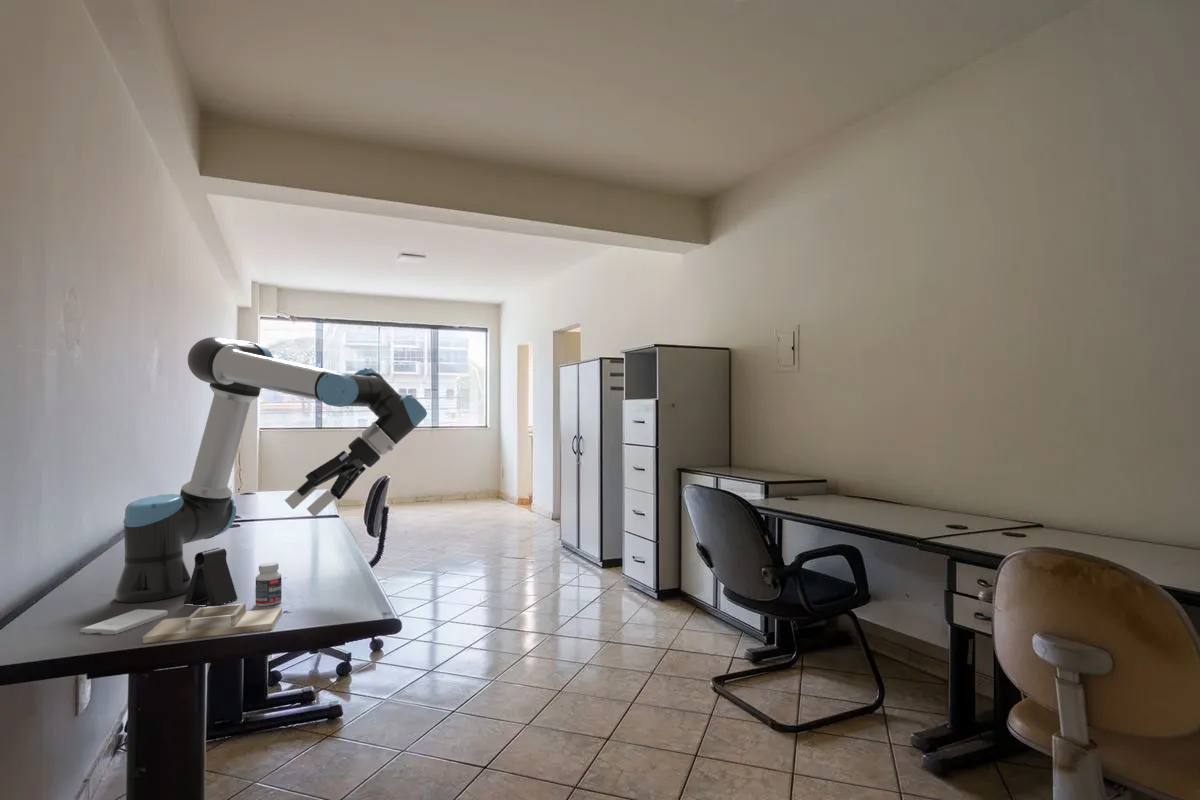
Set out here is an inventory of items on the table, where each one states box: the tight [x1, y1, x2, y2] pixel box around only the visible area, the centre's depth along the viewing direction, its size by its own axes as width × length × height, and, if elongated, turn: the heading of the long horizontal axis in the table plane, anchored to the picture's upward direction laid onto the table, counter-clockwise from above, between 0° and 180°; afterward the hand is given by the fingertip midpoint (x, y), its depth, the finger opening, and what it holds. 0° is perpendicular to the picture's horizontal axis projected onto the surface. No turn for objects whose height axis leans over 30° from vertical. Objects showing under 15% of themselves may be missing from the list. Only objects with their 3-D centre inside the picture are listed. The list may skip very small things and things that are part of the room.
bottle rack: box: [142, 603, 283, 644], centre depth 129 cm, size 22×11×3 cm, turn 107°
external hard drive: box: [80, 608, 169, 635], centre depth 133 cm, size 2×8×12 cm
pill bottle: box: [255, 561, 283, 607], centre depth 145 cm, size 5×5×9 cm
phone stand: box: [183, 547, 238, 606], centre depth 147 cm, size 9×6×12 cm, turn 76°
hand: (300, 509), depth 150 cm, fingers open, 13 cm apart
